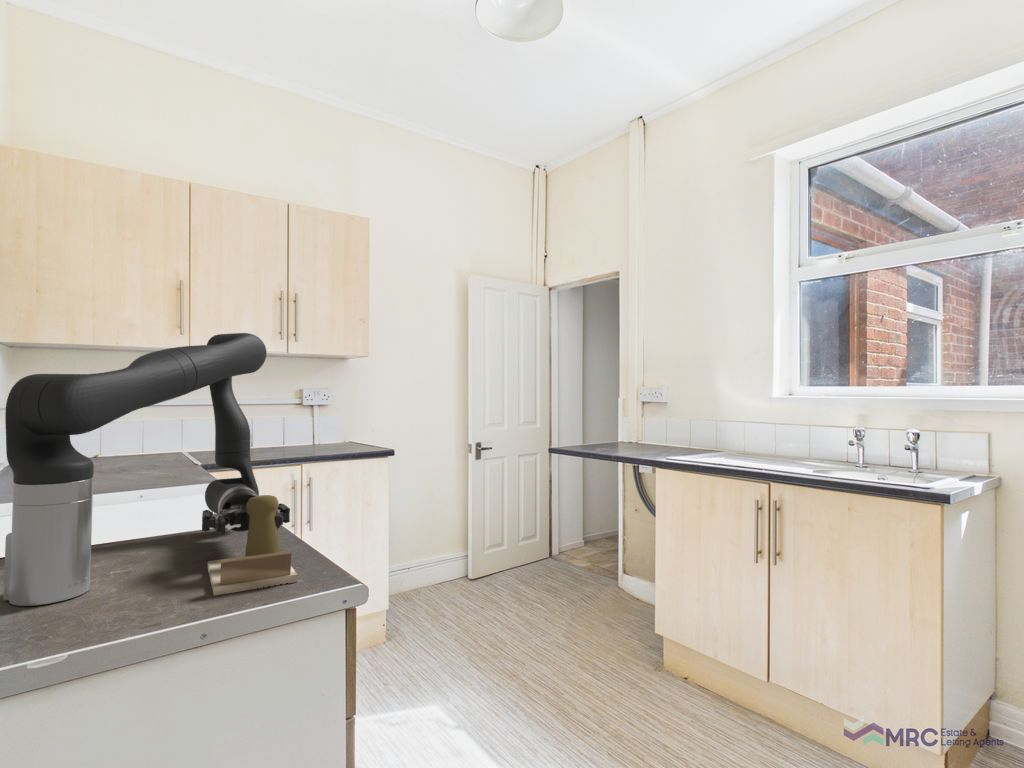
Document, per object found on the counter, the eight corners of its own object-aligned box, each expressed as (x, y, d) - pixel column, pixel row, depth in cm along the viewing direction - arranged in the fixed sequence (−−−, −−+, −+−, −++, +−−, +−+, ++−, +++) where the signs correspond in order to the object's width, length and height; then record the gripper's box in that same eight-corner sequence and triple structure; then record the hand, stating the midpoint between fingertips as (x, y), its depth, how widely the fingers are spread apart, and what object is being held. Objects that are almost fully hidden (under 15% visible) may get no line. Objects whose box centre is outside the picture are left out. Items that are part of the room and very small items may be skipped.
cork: (247, 561, 95) (246, 498, 98) (284, 556, 97) (282, 494, 99) (241, 563, 90) (240, 496, 92) (281, 558, 92) (279, 492, 94)
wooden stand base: (207, 568, 94) (208, 541, 95) (281, 558, 101) (281, 532, 101) (213, 595, 82) (214, 564, 82) (297, 582, 88) (297, 553, 88)
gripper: (199, 491, 103) (204, 507, 89) (280, 485, 110) (295, 499, 96) (198, 531, 102) (202, 553, 89) (279, 522, 110) (294, 541, 96)
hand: (251, 525), depth 93 cm, fingers open, 8 cm apart
